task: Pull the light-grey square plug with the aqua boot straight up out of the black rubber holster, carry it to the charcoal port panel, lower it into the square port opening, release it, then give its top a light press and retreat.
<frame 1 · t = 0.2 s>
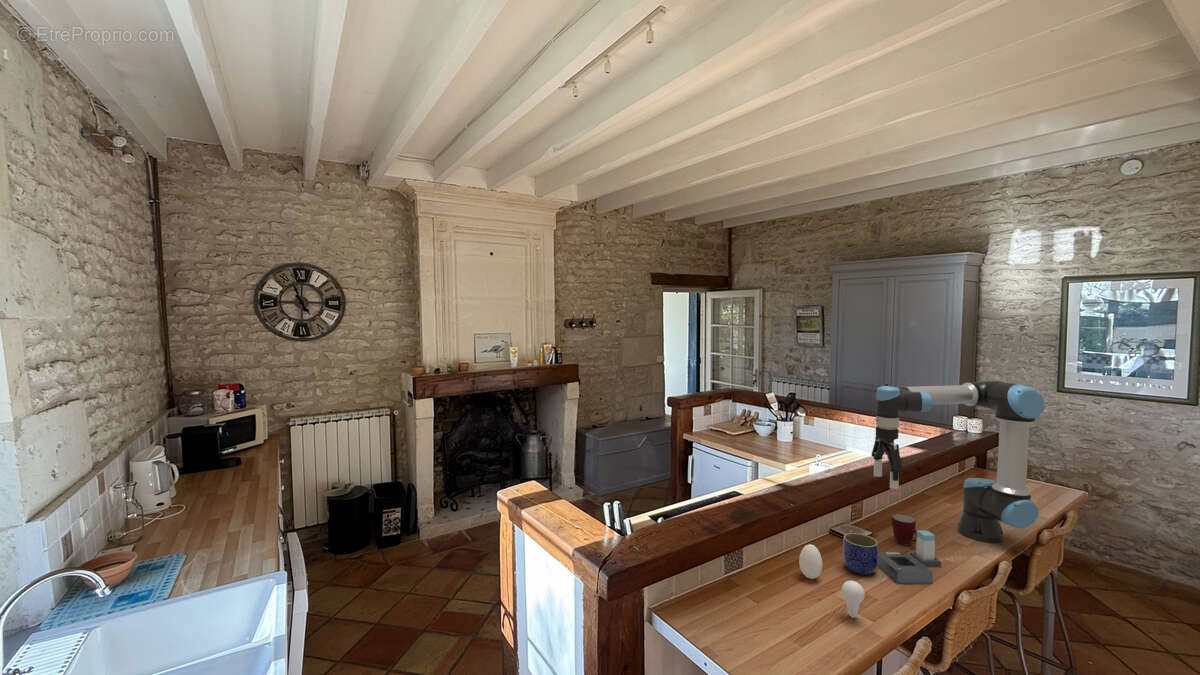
hand: (885, 482, 186), 27 cm above the breakfast bar, fingers open, 13 cm apart
mug: (906, 544, 193), on the breakfast bar
plug: (925, 547, 179), in the holster
holster: (924, 562, 179), on the breakfast bar
egg: (810, 578, 169), on the breakfast bar
planter: (859, 570, 174), on the breakfast bar
lightbulb: (852, 617, 147), on the breakfast bar
port panel: (901, 572, 172), on the breakfast bar
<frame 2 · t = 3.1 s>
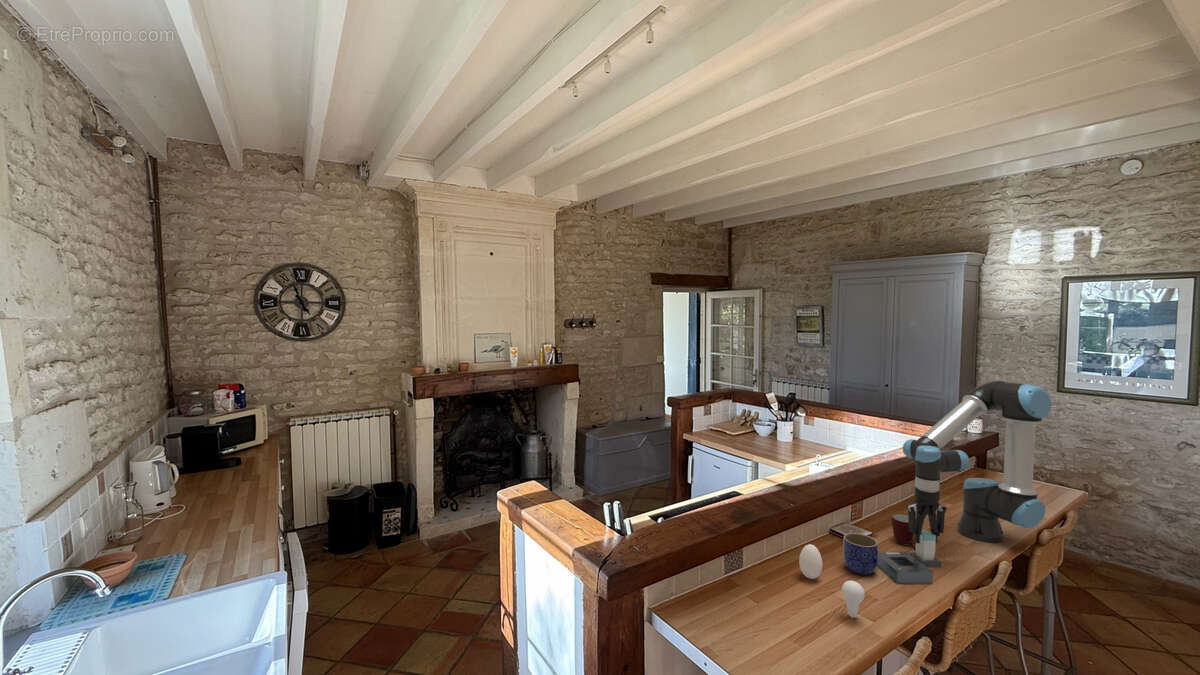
hand: (925, 551, 179), 4 cm above the breakfast bar, fingers closed on plug, 4 cm apart
plug: (925, 547, 179), in the holster, touching gripper
everything else where it was.
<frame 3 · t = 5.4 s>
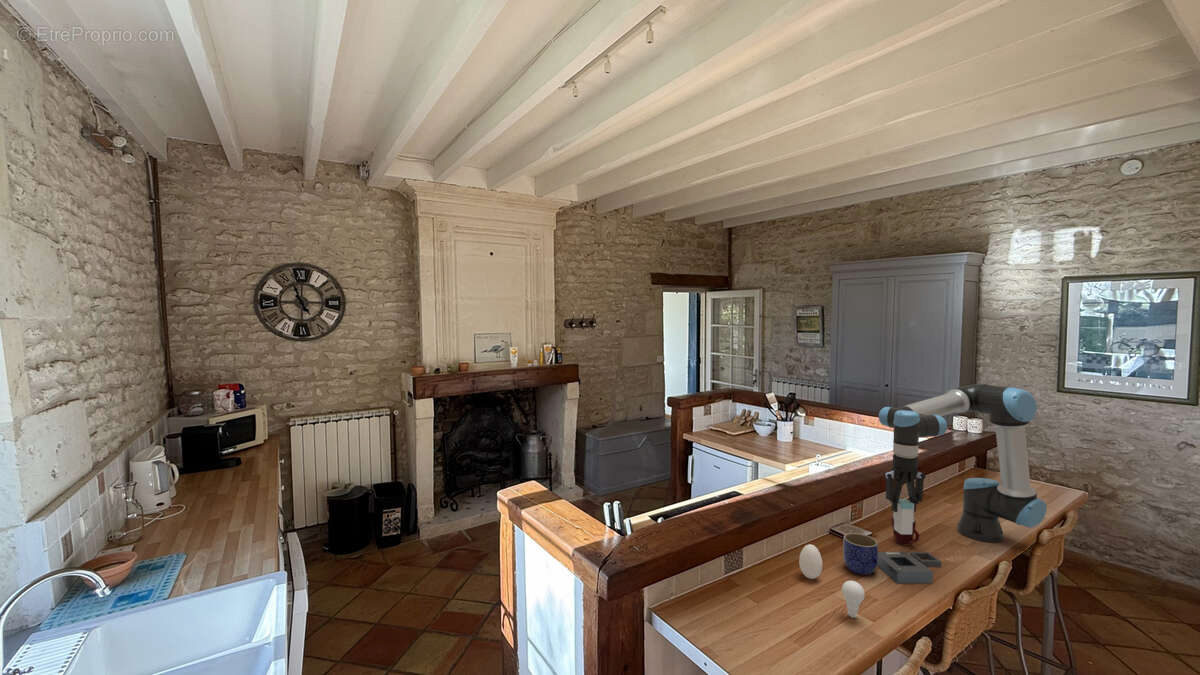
hand: (903, 520, 171), 19 cm above the breakfast bar, fingers closed on plug, 4 cm apart
plug: (903, 516, 171), point 20 cm above the breakfast bar, touching gripper
everything else where it was.
when the fingers open (6 cm above the breakfast bar, at t = 7.9 s): plug drops 2 cm, resting in port panel.
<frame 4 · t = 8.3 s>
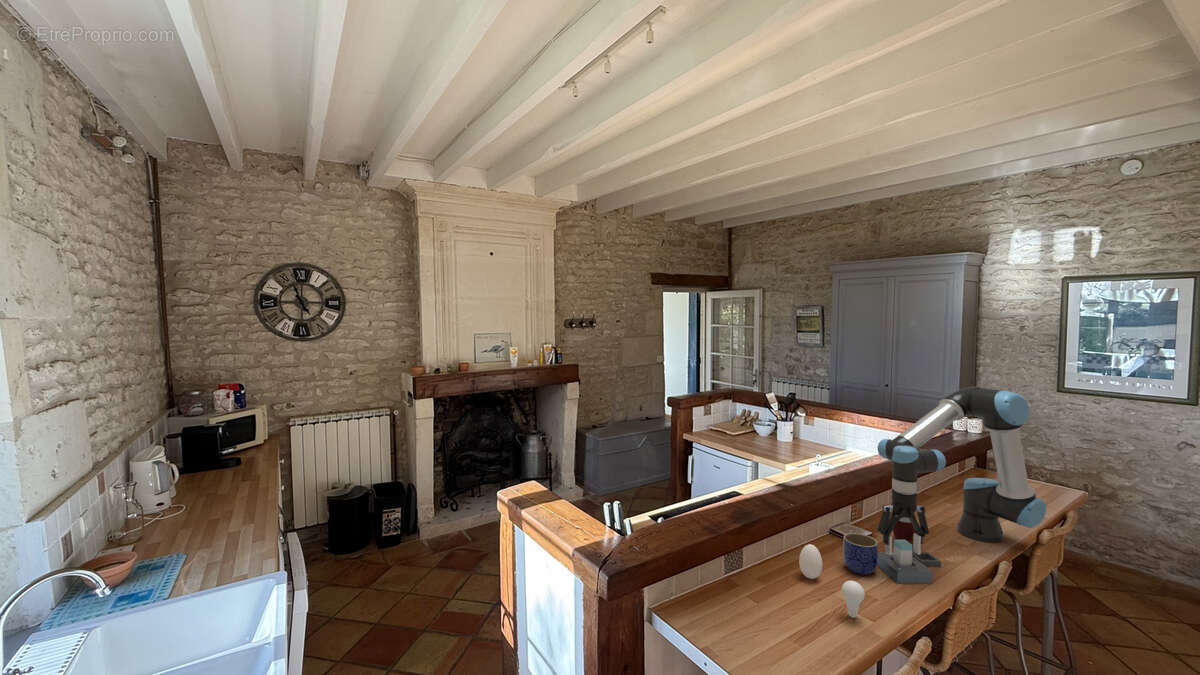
hand: (902, 552, 172), 7 cm above the breakfast bar, fingers open, 9 cm apart
plug: (902, 557, 172), in the port panel
everything else where it was.
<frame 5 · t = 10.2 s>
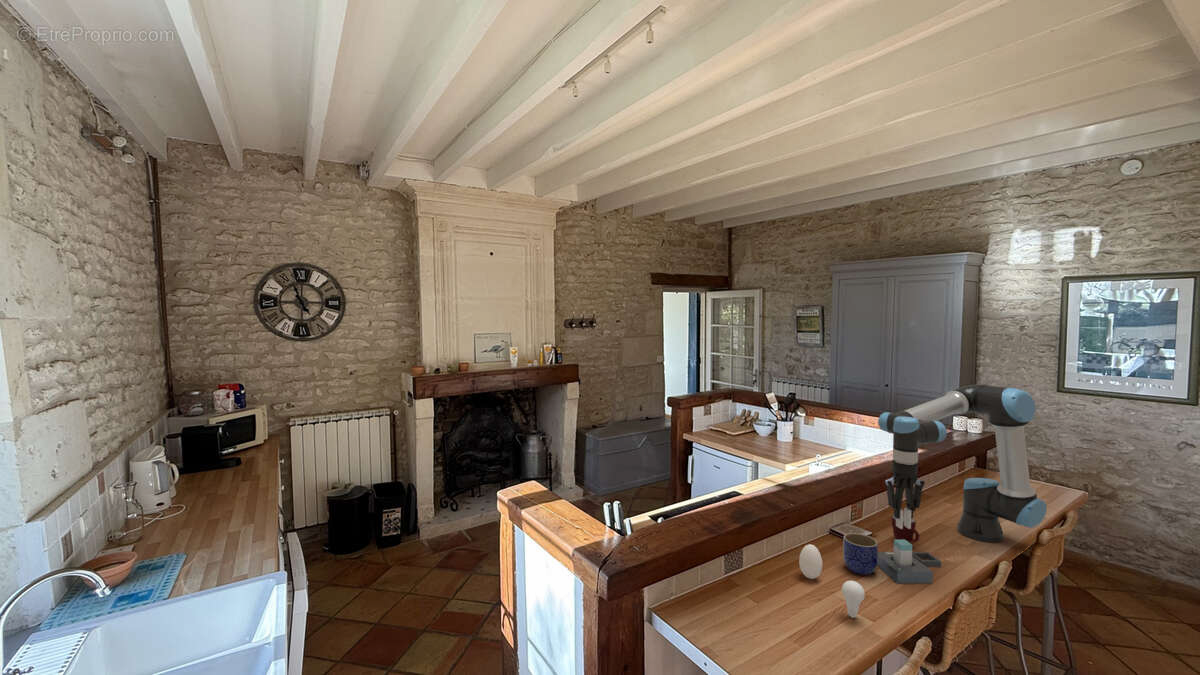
hand: (903, 527, 171), 16 cm above the breakfast bar, fingers open, 2 cm apart
nothing on the breakfast bar moved.
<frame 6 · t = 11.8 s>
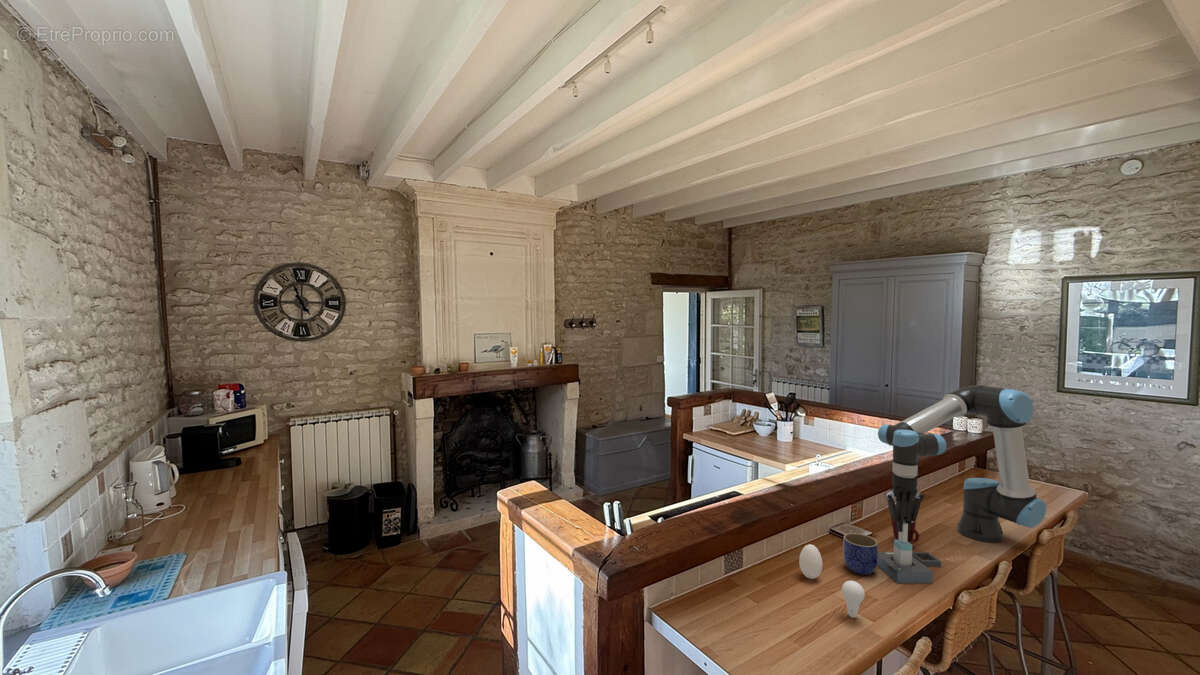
hand: (902, 540, 172), 12 cm above the breakfast bar, fingers closed
nothing on the breakfast bar moved.
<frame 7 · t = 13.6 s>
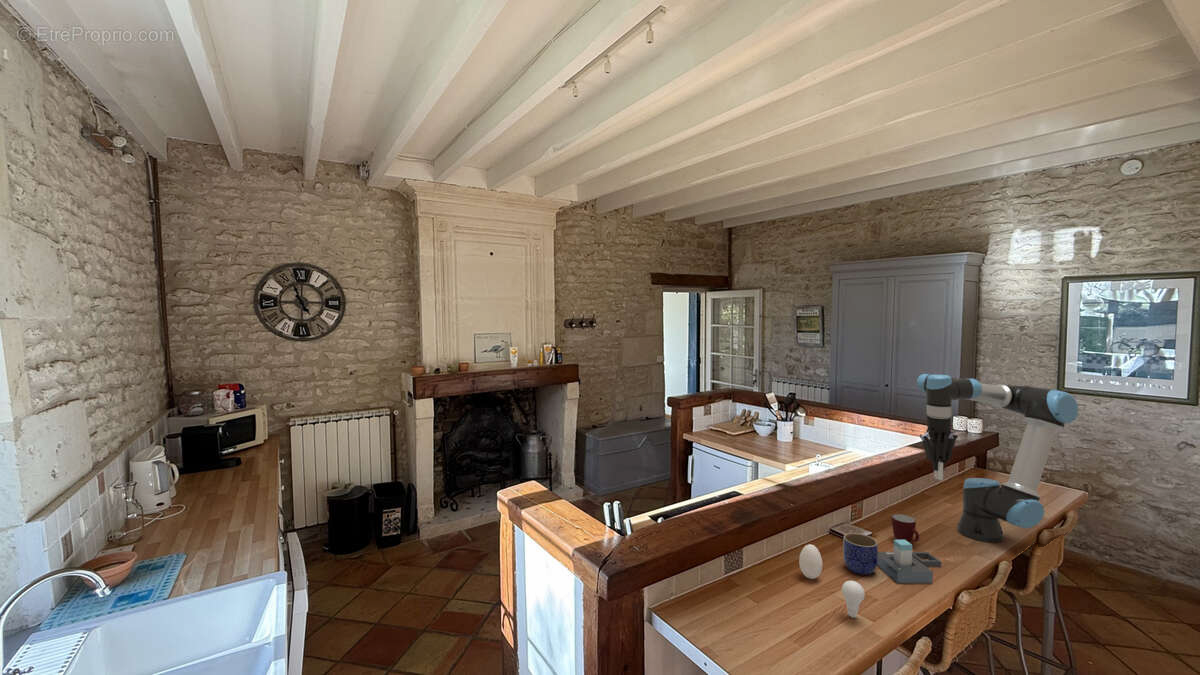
hand: (938, 478, 182), 30 cm above the breakfast bar, fingers closed
nothing on the breakfast bar moved.
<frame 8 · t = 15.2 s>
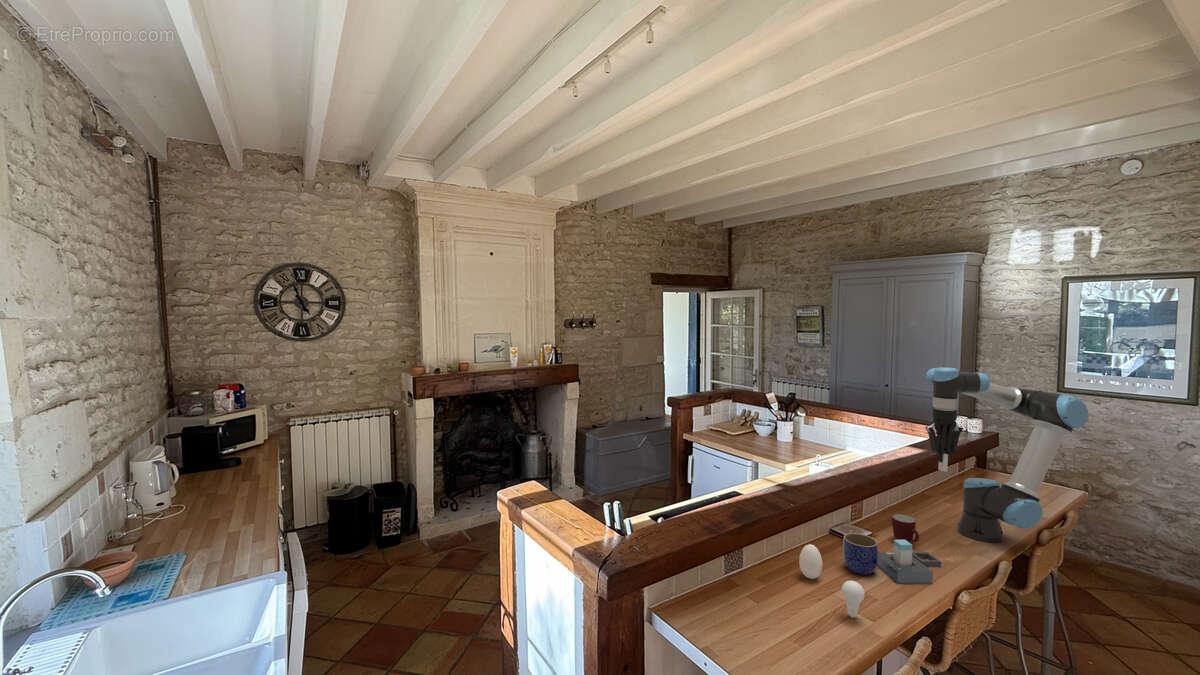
hand: (942, 470, 184), 32 cm above the breakfast bar, fingers closed
nothing on the breakfast bar moved.
at the end: plug 0.1 cm off-centre on the port panel, point 5.5 cm above the port panel's base; plug tilted 0°; the gripper is holding nothing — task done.
